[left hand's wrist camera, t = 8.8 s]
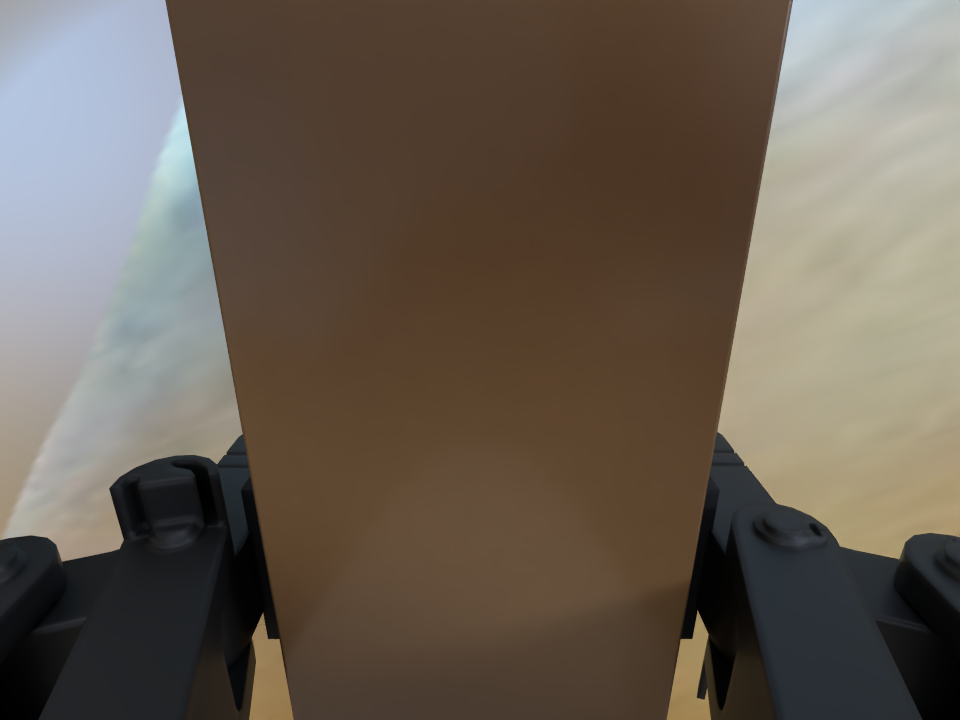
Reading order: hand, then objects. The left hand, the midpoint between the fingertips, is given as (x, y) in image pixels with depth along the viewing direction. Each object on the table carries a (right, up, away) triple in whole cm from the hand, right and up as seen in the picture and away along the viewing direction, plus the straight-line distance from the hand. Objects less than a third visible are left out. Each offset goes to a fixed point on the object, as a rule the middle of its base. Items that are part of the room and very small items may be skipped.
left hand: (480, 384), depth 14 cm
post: (0, -29, +12) cm, 32 cm away
